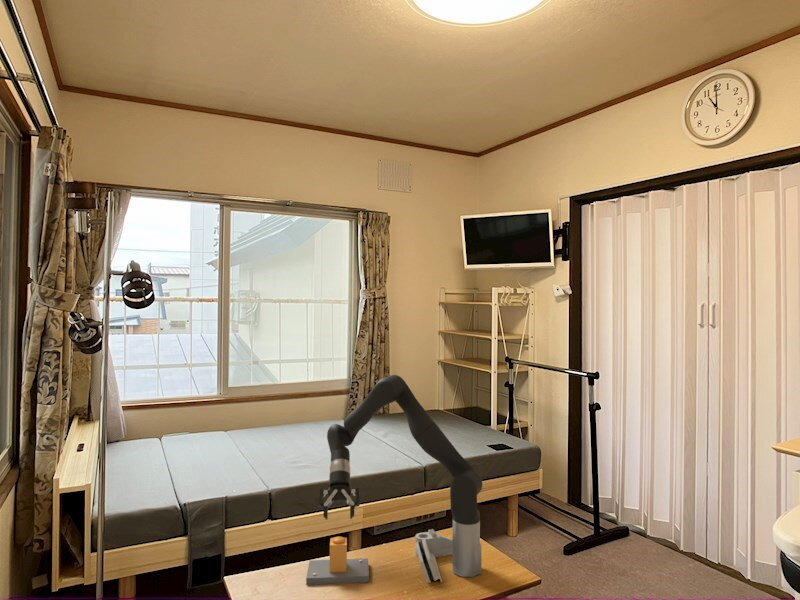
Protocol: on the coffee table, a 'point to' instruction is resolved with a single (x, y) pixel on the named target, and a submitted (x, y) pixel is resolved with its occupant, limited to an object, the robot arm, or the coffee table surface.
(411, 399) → the robot arm
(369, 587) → the coffee table surface
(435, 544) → the grey mounting bracket
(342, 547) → the orange dome-topped block
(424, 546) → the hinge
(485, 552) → the coffee table surface
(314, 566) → the riveted grey base plate
